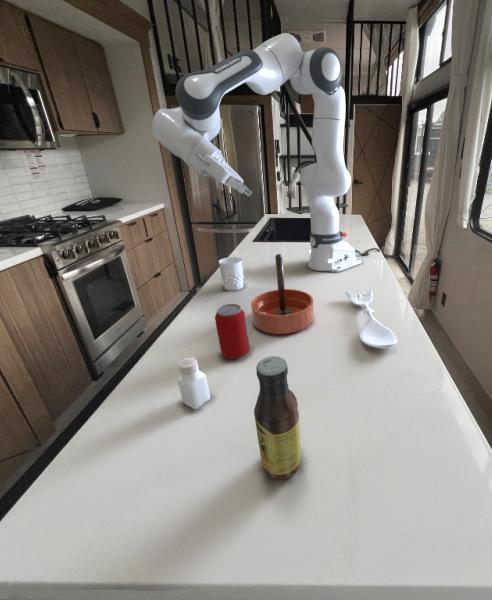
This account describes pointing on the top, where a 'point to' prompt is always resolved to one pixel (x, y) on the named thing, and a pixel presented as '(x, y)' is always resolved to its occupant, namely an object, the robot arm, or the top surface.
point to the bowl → (282, 324)
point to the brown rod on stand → (281, 288)
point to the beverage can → (232, 331)
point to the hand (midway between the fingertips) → (247, 193)
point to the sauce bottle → (277, 420)
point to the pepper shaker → (192, 384)
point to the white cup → (232, 273)
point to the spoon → (372, 324)
